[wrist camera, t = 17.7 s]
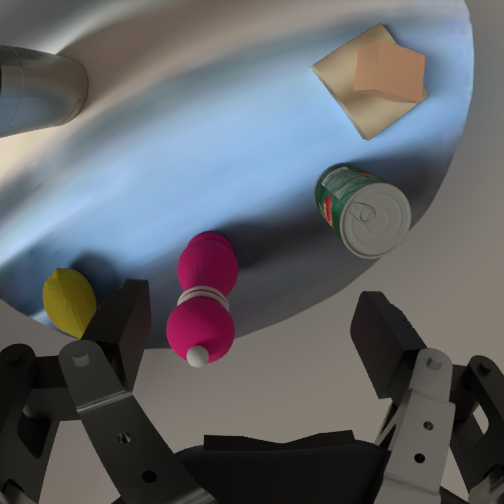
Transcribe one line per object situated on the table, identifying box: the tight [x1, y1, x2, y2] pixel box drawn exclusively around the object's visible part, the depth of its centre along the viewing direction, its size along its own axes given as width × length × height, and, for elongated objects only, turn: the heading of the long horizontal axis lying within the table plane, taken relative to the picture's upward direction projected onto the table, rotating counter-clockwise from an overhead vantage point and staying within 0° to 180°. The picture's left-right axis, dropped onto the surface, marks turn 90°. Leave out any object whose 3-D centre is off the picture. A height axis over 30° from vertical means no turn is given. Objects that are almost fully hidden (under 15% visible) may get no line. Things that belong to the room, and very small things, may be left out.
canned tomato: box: [314, 163, 411, 259], centre depth 34 cm, size 8×8×11 cm
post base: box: [310, 23, 429, 140], centre depth 30 cm, size 11×11×7 cm
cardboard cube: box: [353, 39, 426, 103], centre depth 28 cm, size 6×6×6 cm
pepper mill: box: [167, 232, 239, 367], centre depth 32 cm, size 7×7×20 cm
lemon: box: [43, 268, 97, 339], centre depth 39 cm, size 11×8×8 cm
